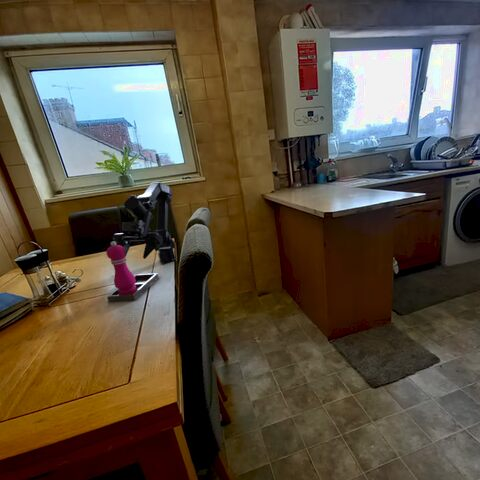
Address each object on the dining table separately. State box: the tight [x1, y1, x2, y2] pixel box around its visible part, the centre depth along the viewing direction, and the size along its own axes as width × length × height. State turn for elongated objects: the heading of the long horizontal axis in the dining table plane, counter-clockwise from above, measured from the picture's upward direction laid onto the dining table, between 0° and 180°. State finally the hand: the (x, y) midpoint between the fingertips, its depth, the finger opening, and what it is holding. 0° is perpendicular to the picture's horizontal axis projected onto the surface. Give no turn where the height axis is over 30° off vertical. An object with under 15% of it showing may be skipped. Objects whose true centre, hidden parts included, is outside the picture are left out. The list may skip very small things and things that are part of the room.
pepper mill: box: [106, 240, 137, 295], centre depth 101 cm, size 7×7×20 cm
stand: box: [106, 272, 160, 303], centre depth 108 cm, size 10×19×2 cm, turn 175°
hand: (133, 258), depth 108 cm, fingers open, 9 cm apart
